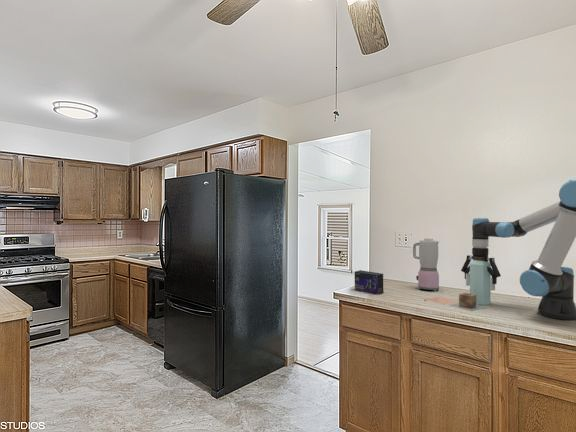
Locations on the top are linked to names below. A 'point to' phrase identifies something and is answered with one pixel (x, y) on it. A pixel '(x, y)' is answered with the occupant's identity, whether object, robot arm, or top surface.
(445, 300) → the terracotta tile
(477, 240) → the robot arm
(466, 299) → the walnut block
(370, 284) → the black digital alarm clock
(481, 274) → the water bottle
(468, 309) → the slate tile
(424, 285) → the blender
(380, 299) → the top surface
